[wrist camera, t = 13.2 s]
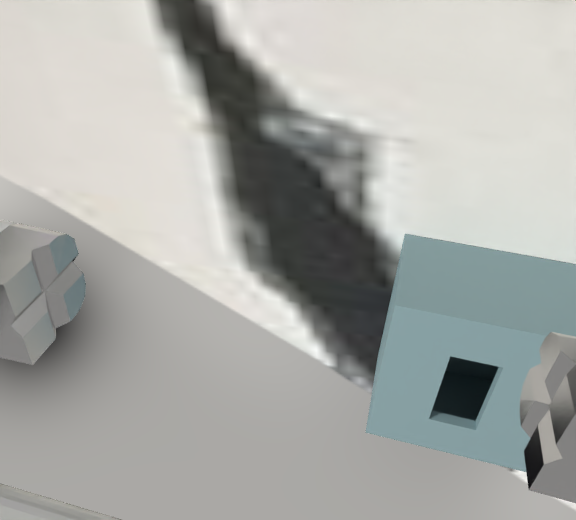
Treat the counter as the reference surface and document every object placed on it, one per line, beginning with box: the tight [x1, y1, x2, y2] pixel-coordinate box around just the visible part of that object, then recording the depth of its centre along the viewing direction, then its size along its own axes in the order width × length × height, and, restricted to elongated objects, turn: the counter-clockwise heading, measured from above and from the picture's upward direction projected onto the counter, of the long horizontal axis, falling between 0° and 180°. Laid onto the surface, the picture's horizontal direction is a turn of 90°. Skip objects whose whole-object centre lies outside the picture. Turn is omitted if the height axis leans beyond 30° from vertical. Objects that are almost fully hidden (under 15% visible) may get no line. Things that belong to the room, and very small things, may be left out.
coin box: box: [366, 234, 576, 472], centre depth 46 cm, size 20×16×10 cm
